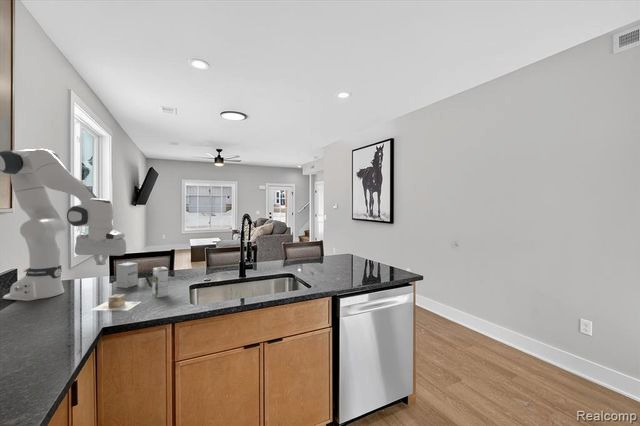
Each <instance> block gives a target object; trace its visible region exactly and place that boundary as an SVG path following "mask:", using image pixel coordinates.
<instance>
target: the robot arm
mask: <svg viewBox="0 0 640 426" xmlns="http://www.w3.org/2000/svg"><path fill="white" fill-rule="evenodd" d="M0 172H2V173H3V174H6V175H7V174H9V177H10V182H11V186H12V190H13V192H14V195H15V197H16V199H17V202H18V205H19V207H20V209H21V210H22V211H24V213H25V214H26V215H27V216H28V218H29V219H28V220H27V221H25V222H23V223H22V224H21V226H20V228H19V233H20V235H21V236H22V238H24V240H25V242H26V245H27V248H28V253H29V267H28V268H26V269H25V270H23V273H25V275H24V276H22V277H21V278H20V279H18V280H17V281H16V282H14V283H12V285H11V286H10V289H9V293H7V294H5V295H3V296H2V299H4V300H13V301H14V300H15V301H24V302H25V301H26V302H28V301H29V302H30V301H34V300H35V301H36V300H38V299H39V300H40V299H48V298H52V297H55V296H59V295H62V294H64V293H65V289H64V286H63V285H64V284H63V282H62V276H61V275H62V265H61V250H60V249H61V248H59V247H58V244H57V239H56V237H59V236H60V235H62V234H63V233H64V232H65V231H66V229H67V222H68V223H69V224H70V225H71V226H73V227H78V228H79V227H87V228H88V229H87V230H88V232H87V233H86V234H85V233H81V234H78V235H77V236H76V238H75V246H74V253H75V255H77V256H92V258H93V260H94V261H95V265H96V266H105V265H106V261H107V259H108V258H109V256H117V257H118V256H120V257H121V256H124V255H125V254H126V253H127V244H126V240H125V236H126V235H125V233H124V232H120V231H117V230H115V229H114V226H113V220H114V207H113V204H112V202H111V201H110V200H109V199H106V198H99V197H97V196H96V195H95V193H93V191H92V190H90V189H89V187H88V185H86V184H85V183H83V182H82V181H81V180H80V179H78V178H77V177H76V176H75V175H73V174H72V173H71V172H70V171H69V170H68V168H67V167H66V166H65V165H64V164H63V162H62V161H61V160H60V157H59V155H58V154H57V153H56V152H55V151H53V150H50V149H45V148H37V149H33V148H31V149H18V150H17V149H16V150H14V149H13V150H9V149H8V150H2V151H0ZM46 188H48V189H50V190H53V191H56V192H57V191H59V192H62V193H66V194H69V195H71V196H74V197H75V198H77V199H78V200H79V201H80V202H81V204H78V205H74V206H70V207H69V208H68V210H67V213H66V219H67V222H66V220H65V219H63V218H62V217H61V216H60V214H59V212H58V211H57V209H56V208H55V207H54V205H53V202H52V200H51V199H50V196H49V193H48V190H47V189H46ZM100 256H101V258H102V260H101V259H100Z"/></svg>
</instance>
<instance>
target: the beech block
mask: <svg viewBox="0 0 640 426" xmlns="http://www.w3.org/2000/svg"><path fill="white" fill-rule="evenodd" d="M108 302H109V303H108V307H121V306H123V305H124V304H125V302H126V294H124V293H123V294H117V293H116V294H113V295H111V296H109V297H108Z"/></svg>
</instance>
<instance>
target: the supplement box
mask: <svg viewBox="0 0 640 426" xmlns="http://www.w3.org/2000/svg"><path fill="white" fill-rule="evenodd" d="M138 266H139V264H138V263H137V262H130V261H129V262H128V261H127V262H123V263H119V264H116V267H115V268H116V270H115V272H116V273H115V274H116V280H115V286H116V288H121V289H123V288H124V289H128V288H132V287H134V286H137V285H138V284H139V283H138V279H139V276H138V275H139V272H138V270H139V269H138V268H139V267H138Z"/></svg>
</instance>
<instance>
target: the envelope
mask: <svg viewBox="0 0 640 426" xmlns="http://www.w3.org/2000/svg"><path fill="white" fill-rule="evenodd" d="M108 303H109V301H105V302H104V303H102V304H101V303H100V305H97V306H95V307H93V308H92V309H90V311H129V310H131V309H133V308H134V307H135V306H137V305H139V304H140V303H142V301H125V304H124V305H123V306H121V307H108Z"/></svg>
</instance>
